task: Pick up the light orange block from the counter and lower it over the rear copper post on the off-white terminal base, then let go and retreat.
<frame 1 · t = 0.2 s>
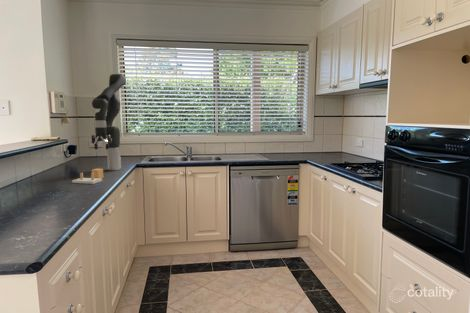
hand: (101, 149, 232), 17 cm above the counter, fingers open, 8 cm apart
terminal base: (87, 181, 203), on the counter
light orange block: (97, 178, 214), on the counter
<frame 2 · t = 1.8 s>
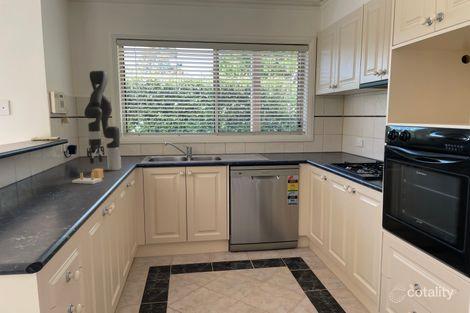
hand: (96, 162, 213), 10 cm above the counter, fingers open, 8 cm apart
nothing on the counter moved.
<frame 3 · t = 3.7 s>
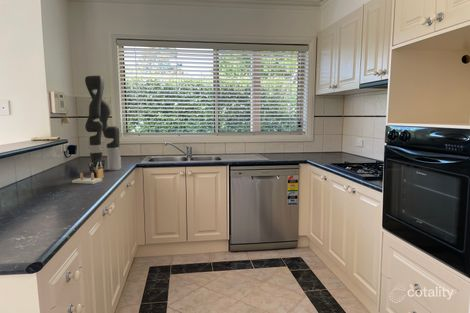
hand: (97, 176, 214), 1 cm above the counter, fingers closed on light orange block, 5 cm apart
light orange block: (97, 178, 214), on the counter, touching gripper
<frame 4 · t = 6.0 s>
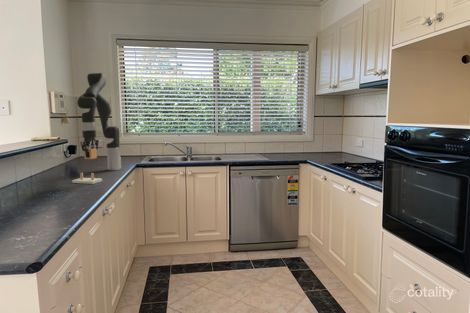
hand: (90, 157, 200), 16 cm above the counter, fingers closed on light orange block, 5 cm apart
light orange block: (90, 158, 200), point 15 cm above the counter, touching gripper
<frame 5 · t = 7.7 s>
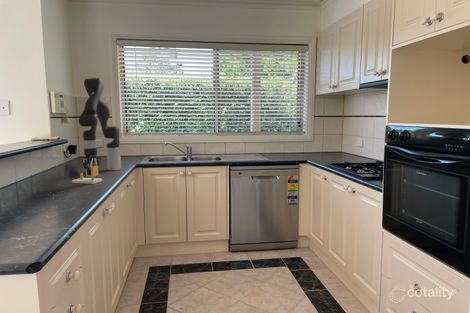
hand: (92, 174, 201), 5 cm above the counter, fingers closed on light orange block, 5 cm apart
light orange block: (92, 175, 202), point 4 cm above the counter, touching gripper
when the fingers open (4 cm above the counter, at t = 8.7 s): light orange block drops 2 cm, resting on terminal base.
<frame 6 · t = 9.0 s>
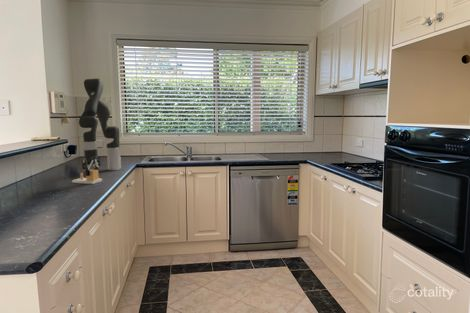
hand: (92, 174, 202), 5 cm above the counter, fingers open, 7 cm apart
light orange block: (92, 179, 202), point 1 cm above the counter, touching terminal base
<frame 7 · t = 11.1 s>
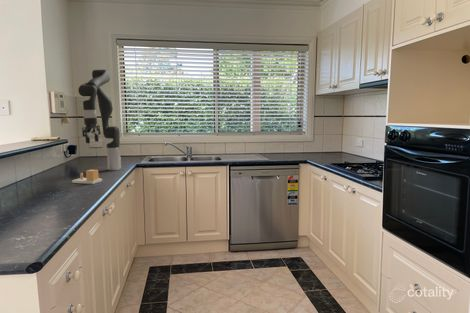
hand: (92, 142, 207), 24 cm above the counter, fingers open, 8 cm apart
nothing on the counter moved.
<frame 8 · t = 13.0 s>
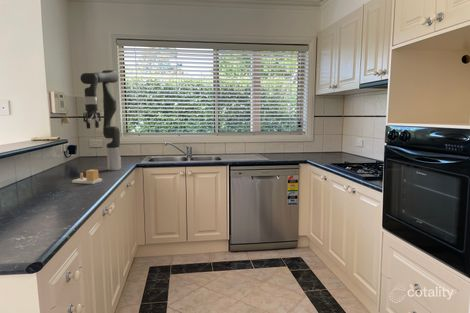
hand: (92, 128, 216), 33 cm above the counter, fingers open, 8 cm apart
nothing on the counter moved.
at the end: light orange block 0.0 cm from the target spot on the terminal base, point 1.5 cm above the terminal base's base; light orange block tilted 0°; the gripper is holding nothing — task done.
